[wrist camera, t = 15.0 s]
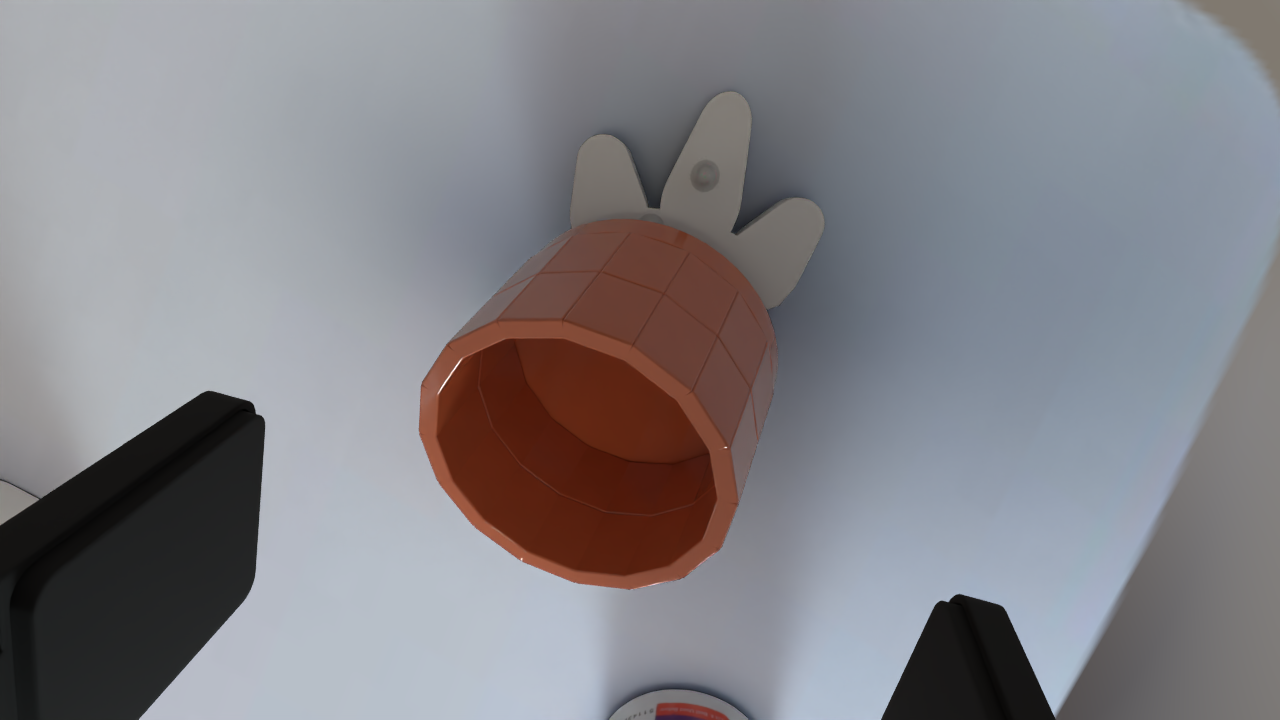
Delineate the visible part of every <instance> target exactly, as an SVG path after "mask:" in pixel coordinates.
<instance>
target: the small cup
mask: <svg viewBox="0 0 1280 720" xmlns="http://www.w3.org/2000/svg"><path fill="white" fill-rule="evenodd" d="M777 369H778V348H777V343H776V337H775V332H774V329H773V326H772V323H771V320H770V317H769V314H768V312H767V310H766V308H765V306H764V304H763V302H762V300H761V298H760V297H759V295H758V294H757V292H756V291H755V289H754V288H753V286H752V285H751V283H750V282H749V281H748V280H747V279H746V277H745V276H744V275H743V274H742V273H741V272H740V271H739V269H738V268H737V267H736V266H734V265H733V264H732V263H731V262H730V261H729V260H728V259H727V258H726V257H724V256H723V255H722V254H721V253H719V252H718V251H716V250H715V249H714V248H712V247H711V246H709V245H708V244H707V243H705V242H703V241H701V240H699V239H697V238H696V237H694V236H692V235H690V234H688V233H685V232H683V231H680V230H678V229H675V228H673V227H670V226H666V225H663V224H659V223H655V222H651V221H644V220H637V219H609V220H601V221H595V222H591V223H587V224H584V225H580V226H578V227H575V228H573V229H571V230H569V231H566V232H564V233H563V234H561V235H560V236H558V237H556V238H555V239H553V240H552V241H551V242H549V243H548V244H547V245H546V246H545V247H544V248H543V249H541V250H540V251H539V252H538V253H537V254H536V255H534V256H533V257H531V258H530V259H529V260H527V262H526V263H525V264H524V265H523V266H522V267H521V268H520V269H519V270H518V271H517V272H516V273H515V274H514V275H513V276H512V277H511V278H510V279H509V280H508V281H507V282H506V283H505V284H504V285H503V286H502V287H501V288H500V289H499V290H498V291H497V293H496V294H495V295H494V296H493V297H492V298H491V299H490V300H489V301H488V302H487V303H486V304H485V305H484V306H483V307H482V308H481V309H480V310H479V311H478V312H477V313H476V314H475V315H474V316H473V317H472V318H471V319H470V320H469V321H468V322H467V324H466V325H465V326H464V327H463V328H462V329H461V330H460V331H459V332H458V333H457V334H456V335H455V336H454V337H453V338H452V339H451V340H450V341H449V342H448V343H447V344H446V346H445V347H444V349H443V350H442V352H441V353H440V355H439V357H438V358H437V360H436V361H435V363H434V364H433V366H432V367H431V369H430V370H429V372H428V373H427V375H426V376H425V378H424V380H423V381H422V384H421V396H420V416H419V432H420V433H419V435H420V438H421V440H422V443H423V445H424V448H425V451H426V453H427V456H428V458H429V461H430V464H431V466H432V469H433V471H434V474H435V477H436V479H437V481H438V482H439V484H440V486H441V487H442V488H443V489H444V491H445V492H446V493H447V494H448V496H449V497H450V498H451V499H452V501H453V502H454V503H455V504H456V505H457V507H458V508H459V509H460V510H461V512H462V513H463V514H464V515H465V517H466V518H467V519H468V520H469V522H470V523H471V524H472V525H473V526H474V527H475V528H476V529H478V530H479V531H480V532H482V533H483V534H484V535H486V536H487V537H489V538H490V539H491V540H493V541H494V542H495V543H497V544H498V545H500V546H501V547H502V548H504V549H505V550H506V551H508V552H509V553H510V554H512V555H513V556H515V557H516V558H517V559H519V560H522V562H524V563H527V564H529V565H532V566H534V567H536V568H539V569H541V570H544V571H546V572H549V573H551V574H554V575H556V576H559V577H561V578H564V579H566V580H569V581H571V582H574V583H578V584H585V585H594V586H602V587H611V588H620V589H628V590H630V589H638V588H643V587H647V586H652V585H656V584H661V583H665V582H670V581H675V580H679V579H681V578H684V577H685V576H687V575H688V574H689V573H691V572H692V571H693V570H694V569H696V568H697V567H698V566H700V565H701V564H702V563H704V562H705V561H706V560H707V559H709V558H710V557H711V556H713V555H714V554H715V553H717V552H718V551H719V550H720V548H721V547H722V546H723V543H724V541H725V538H726V535H727V533H728V530H729V528H730V525H731V523H732V520H733V518H734V515H735V512H736V510H737V507H738V505H739V502H740V498H741V495H742V492H743V489H744V486H745V483H746V479H747V476H748V473H749V470H750V467H751V464H752V460H753V457H754V454H755V451H756V448H757V444H758V441H759V438H760V435H761V432H762V429H763V425H764V422H765V419H766V416H767V413H768V410H769V406H770V403H771V400H772V397H773V392H774V386H775V382H776V377H777Z"/></svg>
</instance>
